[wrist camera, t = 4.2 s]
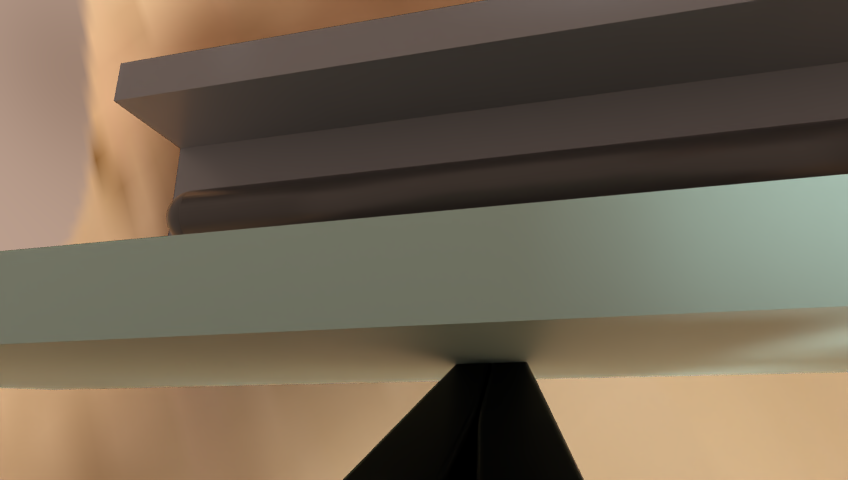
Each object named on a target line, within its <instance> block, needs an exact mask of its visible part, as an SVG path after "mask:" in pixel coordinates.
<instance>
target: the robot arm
mask: <svg viewBox="0 0 848 480" xmlns="http://www.w3.org/2000/svg"><path fill="white" fill-rule="evenodd" d="M343 480H584V479H583V477H582V475H581V473H580V471H579V469H578V467H577V465H576V463H575V460H574V458H573V456H572V454H571V452H570V450H569V448H568V446H567V444H566V442H565V440H564V438H563V435H562V433H561V431H560V429H559V427H558V425H557V423H556V421H555V419H554V417H553V415H552V413H551V410H550V408H549V406H548V404H547V402H546V400H545V398H544V396H543V394H542V392H541V390H540V388H539V385H538V383H537V381H536V379H535V377H534V375H533V373H532V371H531V369H530V367H529V365H528V363H527V362H506V363H492V364H491V363H471V364H456V365H455V366H454V367H453V368H452V369H451V370H450V371H449V372H448V373H447V374H446V375H445V376H444V377H443V378H442V379H441V380H440V381H439V382H438V383H437V384H436V385H435V386H434V387H433V388H432V389H431V390H430V391H429V392H428V393H427V394H426V395H425V396H424V397H423V398H422V399H421V400H420V401H419V402H418V403H417V404H416V405H415V406H414V407H413V409H412V410H411V411H410V412H409V413H408V414H407V415H406V416H405V417H404V418H403V419H402V420H401V421H400V422H399V423H398V424H397V425H396V426H395V427H394V428H393V429H392V430H391V431H390V432H389V433H388V434H387V435H386V436H385V437H384V438H383V439H382V440H381V441H380V442H379V443H378V444H377V445H376V446H375V447H374V448H373V449H372V450H371V451H370V452H369V453H368V454H367V456H366V457H365V458H364V459H363V460H362V461H361V462H360V463H359V464H358V465H357V466H356V467H355V468H354V469H353V470H352V471H351V472H350V473H349V474H348V475H347V476H346V477H345V478H344V479H343Z"/></svg>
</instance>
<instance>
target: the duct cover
mask: <svg viewBox="0 0 848 480" xmlns="http://www.w3.org/2000/svg"><path fill="white" fill-rule="evenodd" d="M506 362H527V363H528V365H529V367H530V369H531V371H532V373H533V375H534V377H535V379H561V378H607V377H652V376H697V375H743V374H788V373H834V372H848V174H842V175H831V176H820V177H809V178H798V179H787V180H776V181H765V182H754V183H743V184H732V185H721V186H710V187H699V188H688V189H677V190H666V191H655V192H644V193H633V194H622V195H612V196H601V197H590V198H579V199H568V200H557V201H546V202H535V203H524V204H513V205H502V206H491V207H480V208H469V209H458V210H447V211H436V212H425V213H414V214H403V215H392V216H381V217H370V218H359V219H348V220H337V221H326V222H315V223H304V224H293V225H282V226H271V227H260V228H249V229H238V230H227V231H216V232H205V233H194V234H183V235H172V236H161V237H151V238H140V239H129V240H118V241H107V242H96V243H85V244H74V245H63V246H52V247H41V248H31V249H20V250H8V251H0V388H17V389H47V390H61V389H106V388H152V387H197V386H243V385H288V384H334V383H379V382H425V381H440V380H441V379H442V378H443V377H444V376H445V375H446V374H447V373H448V372H449V371H450V370H451V369H452V368H453V367H454V366H455V365H456V364H471V363H491V364H492V363H506Z"/></svg>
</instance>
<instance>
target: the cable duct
mask: <svg viewBox="0 0 848 480" xmlns="http://www.w3.org/2000/svg"><path fill="white" fill-rule="evenodd" d="M114 101H115V102H116V103H118V104H119V105H120V106H122V107H123V108H125V109H126V110H127V111H129V112H130V113H132V114H133V115H134V116H136V117H137V118H139V119H140V120H141V121H143V122H144V123H146V124H147V125H148V126H150V127H151V128H152V129H154V130H155V131H157V132H158V133H159V134H161V135H162V136H164V137H165V138H166V139H168V140H169V141H171V142H172V143H173V144H175V145H176V146H178V147H179V148H180V156H179V163H178V170H177V177H176V184H175V191H174V198H173V201H172V203H171V204H170V206H169V208H168V211H167V216H166V220H167V225H168V228H169V233H168V236H172V235H183V234H194V233H205V232H216V231H227V230H238V229H249V228H260V227H271V226H282V225H293V224H304V223H315V222H326V221H337V220H348V219H359V218H370V217H381V216H392V215H403V214H414V213H425V212H436V211H447V210H458V209H469V208H480V207H491V206H502V205H513V204H524V203H535V202H546V201H557V200H568V199H579V198H590V197H601V196H612V195H622V194H633V193H644V192H655V191H666V190H677V189H688V188H699V187H710V186H721V185H732V184H743V183H754V182H765V181H776V180H787V179H798V178H809V177H820V176H831V175H842V174H848V0H484V1H478V2H472V3H467V4H461V5H455V6H449V7H444V8H438V9H432V10H426V11H421V12H415V13H409V14H403V15H398V16H392V17H386V18H380V19H374V20H369V21H363V22H357V23H351V24H346V25H340V26H334V27H328V28H323V29H317V30H311V31H305V32H300V33H294V34H288V35H282V36H277V37H271V38H265V39H259V40H254V41H248V42H242V43H236V44H230V45H225V46H219V47H213V48H207V49H202V50H196V51H190V52H184V53H179V54H173V55H167V56H161V57H156V58H150V59H144V60H138V61H133V62H127V63H121V66H120V71H119V76H118V82H117V87H116V93H115V98H114Z"/></svg>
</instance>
